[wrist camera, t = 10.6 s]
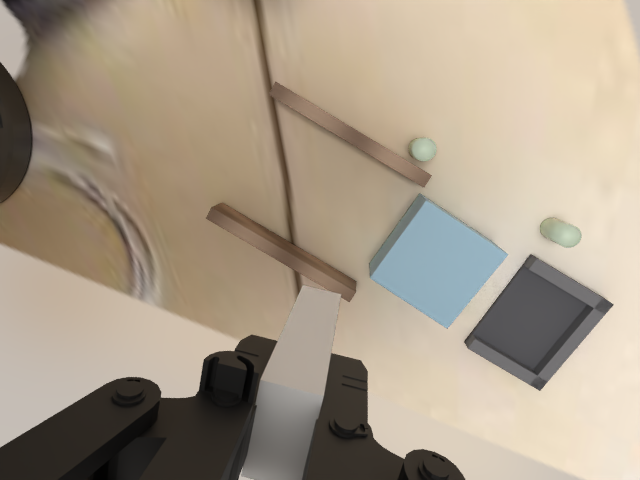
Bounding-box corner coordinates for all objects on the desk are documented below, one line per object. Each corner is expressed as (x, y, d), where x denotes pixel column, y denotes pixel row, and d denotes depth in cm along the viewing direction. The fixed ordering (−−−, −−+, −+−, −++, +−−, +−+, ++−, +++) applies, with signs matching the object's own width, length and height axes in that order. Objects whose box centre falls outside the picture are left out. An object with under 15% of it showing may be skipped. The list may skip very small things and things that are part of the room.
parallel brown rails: (216, 212, 35) (205, 218, 33) (282, 85, 32) (275, 81, 30) (350, 291, 35) (349, 302, 33) (426, 172, 32) (431, 175, 30)
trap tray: (464, 341, 35) (467, 348, 34) (530, 254, 33) (536, 258, 32) (534, 382, 36) (539, 390, 34) (605, 298, 33) (613, 304, 32)
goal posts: (404, 152, 32) (408, 153, 29) (416, 134, 32) (421, 133, 29) (553, 241, 33) (571, 251, 30) (566, 224, 32) (586, 233, 29)
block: (369, 262, 35) (369, 278, 31) (419, 192, 33) (426, 200, 29) (438, 307, 35) (447, 328, 31) (491, 241, 33) (508, 254, 30)
